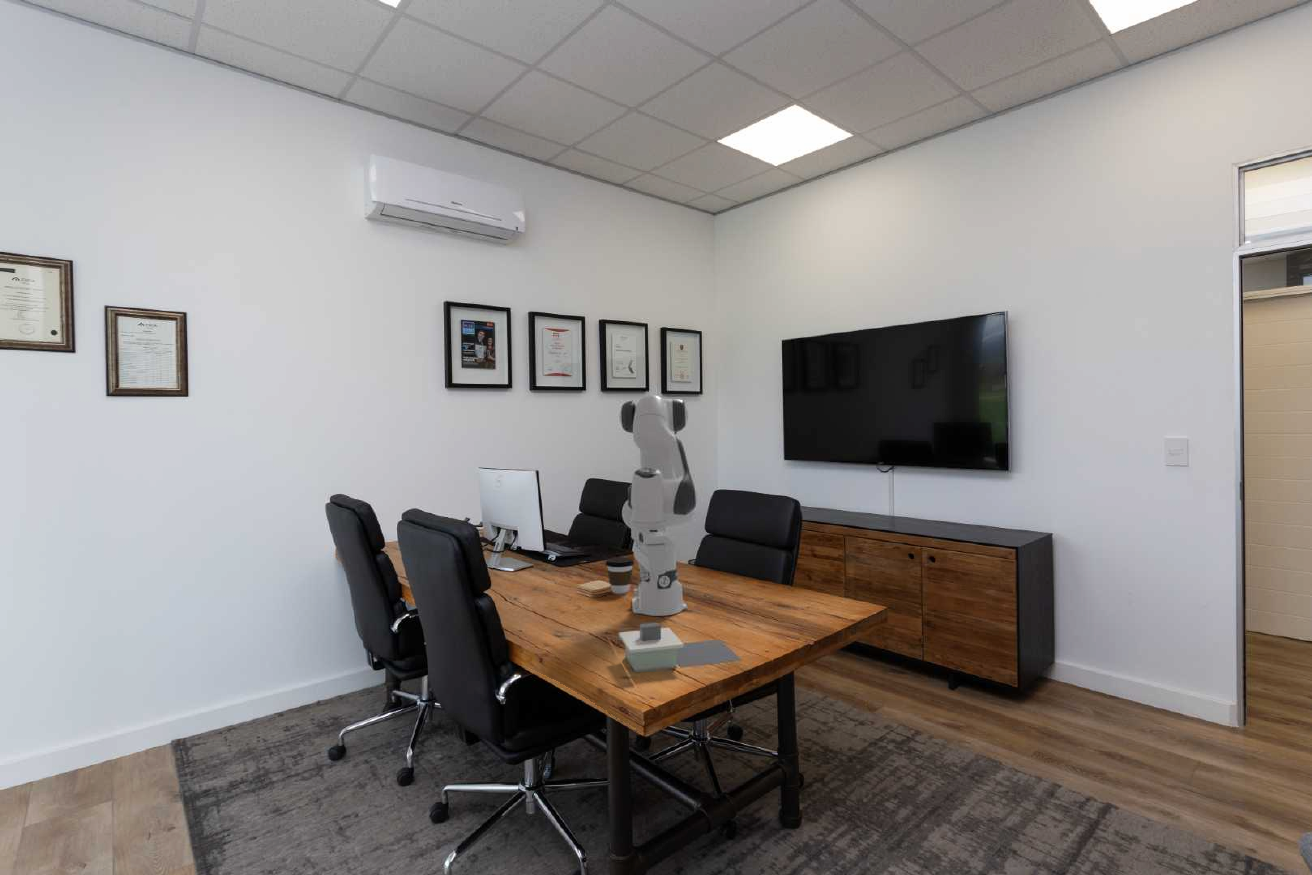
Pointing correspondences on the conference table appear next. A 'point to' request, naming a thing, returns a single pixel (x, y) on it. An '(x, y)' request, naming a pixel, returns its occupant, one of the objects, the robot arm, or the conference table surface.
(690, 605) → the conference table surface
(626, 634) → the lid
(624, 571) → the coffee cup
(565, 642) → the conference table surface
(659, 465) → the robot arm
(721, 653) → the mat
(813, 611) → the conference table surface
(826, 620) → the conference table surface
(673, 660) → the pale green open box
